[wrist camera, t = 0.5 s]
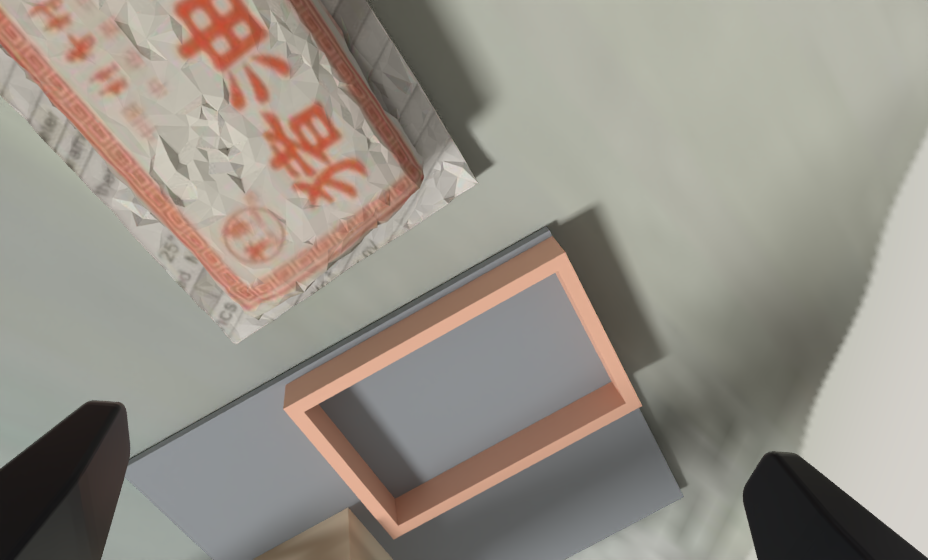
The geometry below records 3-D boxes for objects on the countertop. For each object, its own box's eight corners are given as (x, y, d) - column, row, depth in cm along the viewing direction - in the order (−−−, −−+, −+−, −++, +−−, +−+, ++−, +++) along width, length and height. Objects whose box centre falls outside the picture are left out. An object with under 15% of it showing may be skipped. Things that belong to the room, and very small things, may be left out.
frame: (390, 511, 28) (393, 539, 27) (285, 384, 25) (283, 409, 24) (627, 384, 28) (642, 405, 26) (552, 235, 24) (565, 252, 23)
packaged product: (-448, -257, 12) (-11, -614, 11) (-246, -201, 17) (82, -456, 16) (222, 404, 20) (508, 222, 19) (241, 326, 25) (475, 174, 24)
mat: (339, 670, 32) (339, 678, 32) (121, 464, 26) (118, 471, 25) (679, 490, 31) (683, 496, 31) (546, 226, 24) (549, 230, 24)
